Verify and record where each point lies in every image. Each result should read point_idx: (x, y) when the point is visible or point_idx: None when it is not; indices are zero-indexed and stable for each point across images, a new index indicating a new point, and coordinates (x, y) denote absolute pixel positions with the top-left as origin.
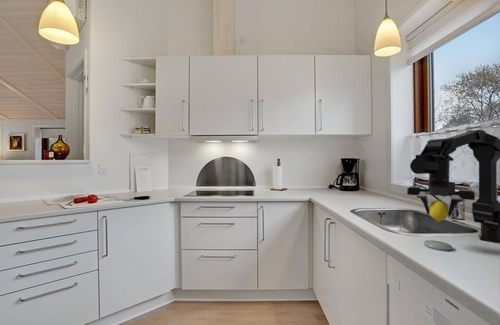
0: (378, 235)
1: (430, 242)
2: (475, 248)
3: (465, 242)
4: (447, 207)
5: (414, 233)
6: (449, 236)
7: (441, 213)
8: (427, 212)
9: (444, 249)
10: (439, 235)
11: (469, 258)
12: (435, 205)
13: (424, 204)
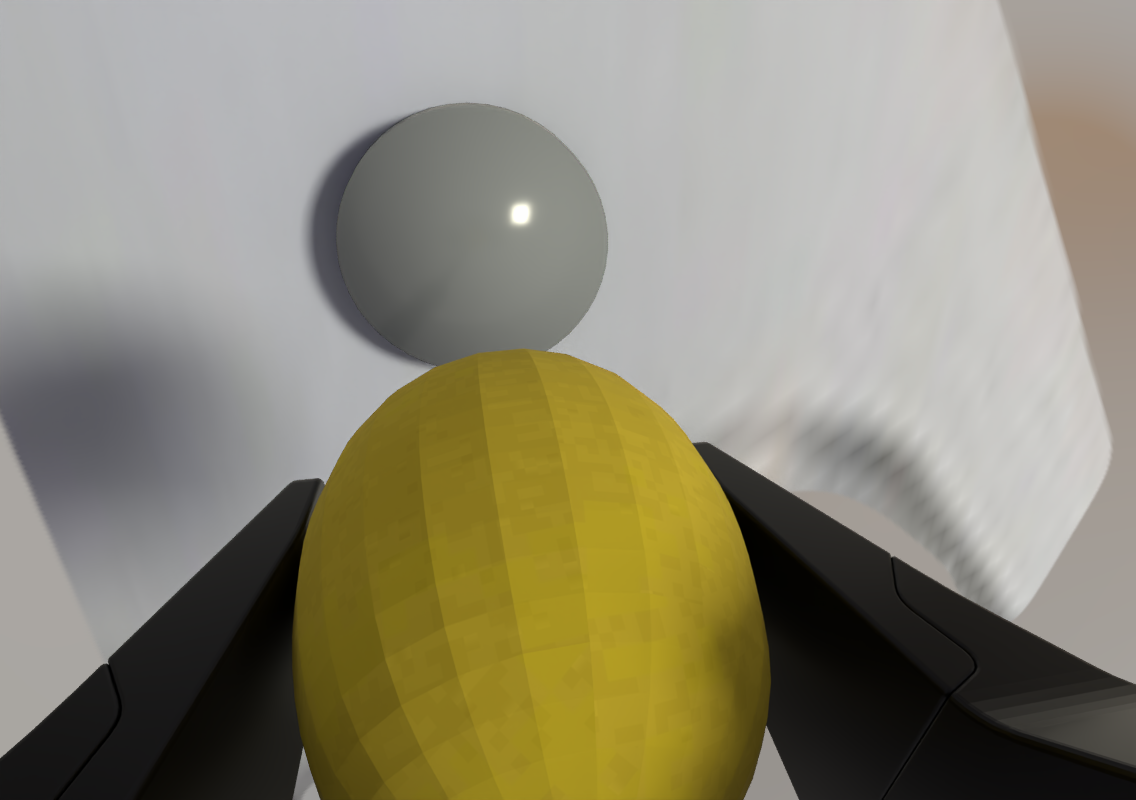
0: (1006, 231)
1: (548, 263)
2: (182, 447)
3: None
4: (295, 699)
5: None
6: None
7: (443, 398)
8: (731, 467)
9: (398, 127)
10: None
11: (114, 3)
12: (656, 590)
13: (935, 595)
